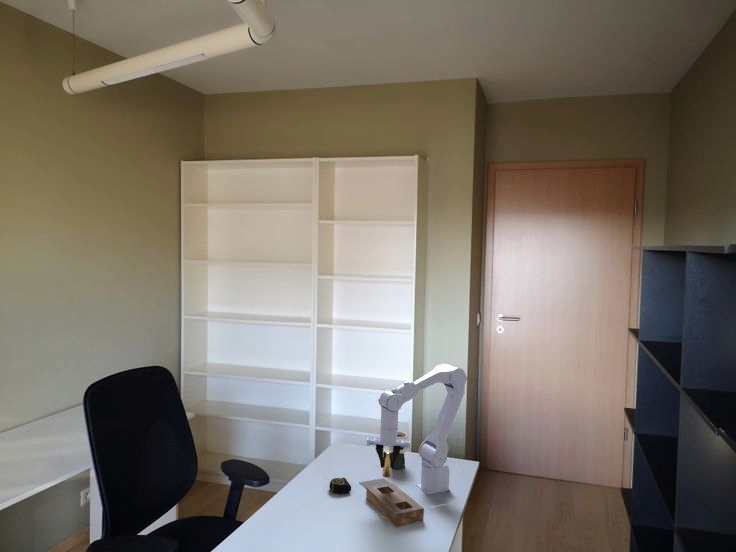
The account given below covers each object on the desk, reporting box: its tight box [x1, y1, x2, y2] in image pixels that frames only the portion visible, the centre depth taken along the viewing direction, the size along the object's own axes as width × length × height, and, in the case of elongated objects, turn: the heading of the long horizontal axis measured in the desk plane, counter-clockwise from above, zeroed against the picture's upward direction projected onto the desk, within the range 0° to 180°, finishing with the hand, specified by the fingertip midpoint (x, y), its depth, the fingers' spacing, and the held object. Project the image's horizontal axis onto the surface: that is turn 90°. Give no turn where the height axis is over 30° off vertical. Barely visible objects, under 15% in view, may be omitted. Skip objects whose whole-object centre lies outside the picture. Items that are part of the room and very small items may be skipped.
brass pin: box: [381, 450, 393, 479], centre depth 195 cm, size 3×3×8 cm
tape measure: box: [328, 477, 352, 495], centre depth 199 cm, size 7×7×4 cm
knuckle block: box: [365, 482, 425, 528], centre depth 187 cm, size 10×20×4 cm, turn 27°
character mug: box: [388, 430, 408, 470], centre depth 221 cm, size 11×7×13 cm, turn 144°
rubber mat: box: [358, 477, 390, 491], centre depth 203 cm, size 10×10×1 cm
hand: (387, 467), depth 195 cm, fingers closed on brass pin, 3 cm apart
